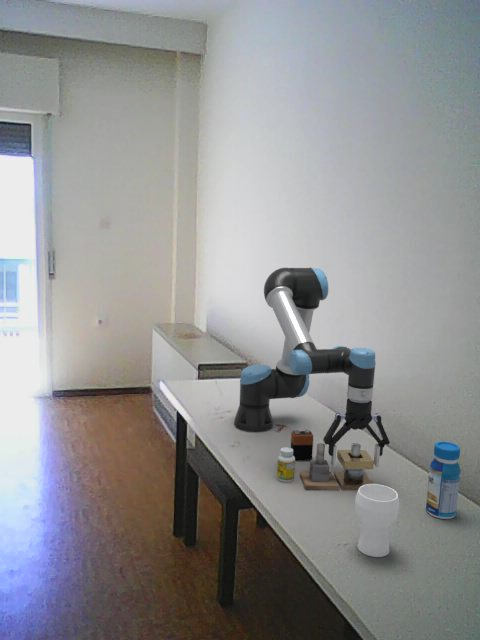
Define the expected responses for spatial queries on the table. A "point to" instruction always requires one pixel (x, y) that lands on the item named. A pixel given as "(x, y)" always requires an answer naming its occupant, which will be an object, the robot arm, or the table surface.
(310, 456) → the battery
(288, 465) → the supplement bottle
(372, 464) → the brass plate
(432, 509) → the beverage bottle
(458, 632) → the table surface
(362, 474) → the peg stand
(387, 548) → the cup
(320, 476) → the rod stand
